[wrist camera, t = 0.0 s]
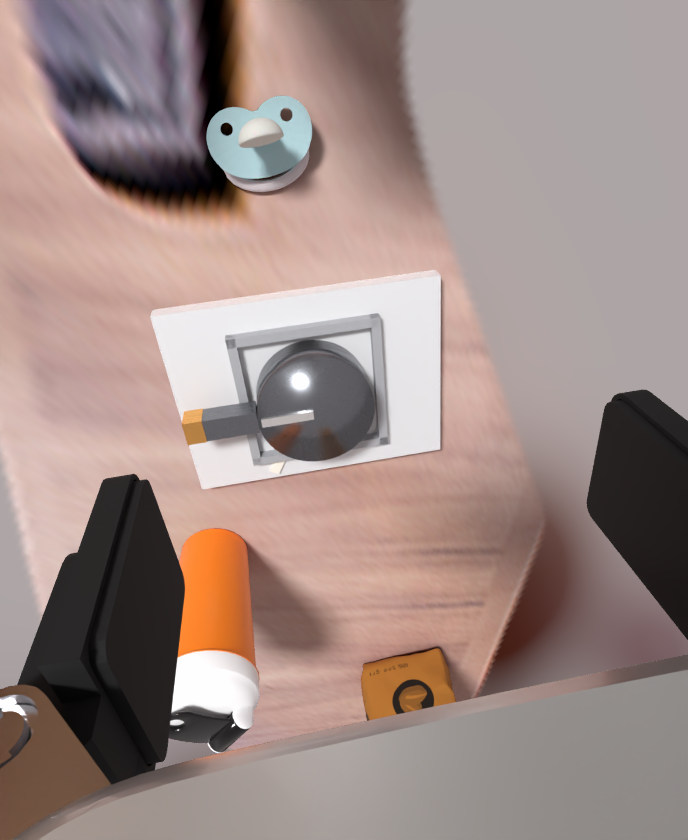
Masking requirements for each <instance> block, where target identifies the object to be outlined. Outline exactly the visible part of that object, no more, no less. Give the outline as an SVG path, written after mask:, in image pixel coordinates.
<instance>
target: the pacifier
mask: <svg viewBox="0 0 688 840" xmlns="http://www.w3.org/2000/svg"><path fill="white" fill-rule="evenodd" d="M284 108H289V109H290V110H291V111H292V118H291V120H290V121H283V120H282V119H281V117H280V112H281V110H282V109H284ZM226 122H227V123H229V124H231V126H232V128H233V132H232V134H231V135H229V136H225V135H223V134H222V133H221V130H220V127H221V125H222V124H223V123H226ZM311 137H312V125H311V120H310V117H309V114H308V112H307V111H306V109H305V108H304V106H303V105H302V104H301V103H300V102H299V101H297V100H296V99H294V98H292V97H289V96H276V97H273V98H270V99H269V100H267V101H265V102H264V103H263V104H262V105H261V106H260V107H259V109H258V110H256V111H249V110H247V109H244V108H240V107H231V108H226V109H223V110H221V111H219V112H218V113H217V114H216V115H215V116H214V117H213V118H212V119H211V121H210V123H209V126H208V129H207V144H208V148H209V151H210V153H211V155H212V157H213V159H214V160H215V161H216V163H217V164H218V165H219V166H220V167H221V168H222V169H223V170H224V172H225V174H226V176H227V178H228V179H229V180H230V181H231V182H232V183H233V184H234V185H236V186H238V187H240V188H242V189H244V190H248V191H252V192H267V191H274V190H277V189H280V188H283V187H285V186H287V185H289V184H290V183H292V182H294V181H295V180H296V179H297V178H298V177H299V176H300V175H301V174H302V173H303V171H304V170H305V168H306V167H307V164H308V161H309V146H310V142H311ZM285 171H286V172H285ZM283 172H285V173H283ZM280 173H283V174H281V175H280V176H277V177H274V178H272V179H265V180H255V179H259V178H265V177H270V176H274V175H277V174H280Z"/></svg>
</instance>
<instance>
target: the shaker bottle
mask: <svg viewBox="0 0 688 840" xmlns="http://www.w3.org/2000/svg"><path fill="white" fill-rule="evenodd" d="M179 564H180V567H181V570H182V572H183V576H184V581H185V597H184V606H183V615H182V624H181V632H180V641H179V650H178V659H177V668H176V676H175V685H174V694H173V703H172V712H171V720H170V729H169V738H170V739H174V740H179V741H185V742H194V743H208V746H209V747H210V749H211V750H212V751H214V752H216V753H221V752H223V751H225V750H226V749H227V748H228V747H229V746H230V745H232V744H233V743H234V742H235V741H236V740H237V739H238V738H239V737H240V736H242V735H243V734H244V733H245V732H246V731H247V730H248V729H249V728H250V727H251V726H252V724H253V721H254V720H253V710H254V709H255V708H256V706H257V704H258V701H259V672H258V670H257V668H256V663H255V649H254V635H253V621H252V607H251V593H250V579H249V565H248V552H247V546H246V544H245V542H244V541H243V539H242V538H241V537H240V536H238V535H237V534H235V533H233V532H231V531H228V530H224V529H207V530H203V531H200V532H198V533H195V534H194V535H192V536H191V537H190V538H189V539H188V540H187V541H186V542H185V544H184V545H183V548H182V552H181V557H180V562H179Z"/></svg>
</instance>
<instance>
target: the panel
mask: <svg viewBox="0 0 688 840" xmlns="http://www.w3.org/2000/svg"><path fill="white" fill-rule="evenodd" d="M150 318H151V321H152V324H153V328H154V331H155V334H156V338H157V341H158V344H159V348H160V351H161V354H162V358H163V361H164V364H165V368H166V371H167V374H168V378H169V381H170V384H171V388H172V391H173V394H174V398H175V401H176V404H177V408H178V411H179V414H180V418H181V421H182V420H183V414H184V411H190V410H196V409H202V408H203V409H208V408H214V407H220V406H227V405H233V404H239V403H246V402H252V401H256V405H257V397H256V387H257V381H258V378H259V375H260V372H261V370H262V368H263V367H264V365H265V364H266V362H267V361H268V360H269V359H270V358H271V357H272V356H273V355H274V354H275V353H276V352H278V351H279V350H281V349H282V348H284V347H286V346H288V345H290V344H293V343H296V342H300V341H304V340H323V341H329V342H332V343H335V344H337V345H340V346H342V347H343V348H345V349H347V350H348V351H349V352H350V353H352V354H353V355H354V356H355V358H356V359H357V360H358V361H359V363H360V364H361V366H362V368H363V371H364V373H365V376H366V378H367V380H368V383H369V385H370V388H371V390H372V393H373V396H374V402H375V413H374V418H373V422H372V425H371V427H370V429H369V431H368V432H367V434H366V435H365V437H364V438H363V439H362V440H361V441H360V442H359V443H358V444H357V445H356V446H355V447H354V448H352V449H351V450H350V451H348V452H346V453H345V454H342V455H340V456H338V457H335V458H332V459H328V460H324V461H301V460H296V459H293V458H290V457H287V456H285V455H283V454H281V453H280V452H278V451H277V450H275V449H274V448H273V447H272V446H271V445H270V444H269V443H268V442H267V441H266V439H265V438H264V436H263V435H262V432H261V430H260V433H256V434H249V435H243V436H237V437H231V438H225V439H219V440H212V441H207V442H205V443H199V444H193V445H189V447H190V451H191V454H192V457H193V461H194V464H195V467H196V471H197V474H198V477H199V481H200V484H201V487H202V490H203V489H208V488H214V487H220V486H226V485H232V484H238V483H244V482H250V481H256V480H262V479H268V478H274V477H279V476H285V475H291V474H297V473H303V472H309V471H315V470H321V469H327V468H333V467H339V466H345V465H351V464H356V463H362V462H368V461H374V460H380V459H386V458H392V457H398V456H404V455H410V454H416V453H422V452H427V451H433V450H439V449H440V331H441V275H440V274H439V273H438V272H437V271H436V270H430V271H423V272H416V273H409V274H402V275H395V276H388V277H381V278H373V279H366V280H359V281H352V282H345V283H338V284H331V285H324V286H317V287H310V288H303V289H296V290H289V291H282V292H275V293H268V294H261V295H254V296H247V297H240V298H233V299H226V300H219V301H212V302H205V303H198V304H191V305H184V306H177V307H170V308H163V309H155V310H153V311H152V314H151V316H150Z"/></svg>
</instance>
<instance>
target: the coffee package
mask: <svg viewBox="0 0 688 840" xmlns="http://www.w3.org/2000/svg"><path fill="white" fill-rule="evenodd" d="M363 667H364V669H363V672H362V676H361V686H362V694H363V701H364V706H365V711H366V717H367V721H369V720H374V719H378V718H383V717H388V716H392V715H397V714H402V713H406V712H411V711H416V710H421V709H425V708H430V707H435V706H440V705H444V704H449V703H454V702H456V699H455V695H454V693H453V689H452V684H451V679H450V674H449V669H448V666H447V664H446V662H445V659H444V656H443V655H442V652H441V650H440V649H438V648H436V649H433V650H430V651H427V652H423V653H416V654H412V655H408V656H398V657H392V658H388V659H384V660H380V661H376V662H372V663H366V664H364V665H363Z"/></svg>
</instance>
